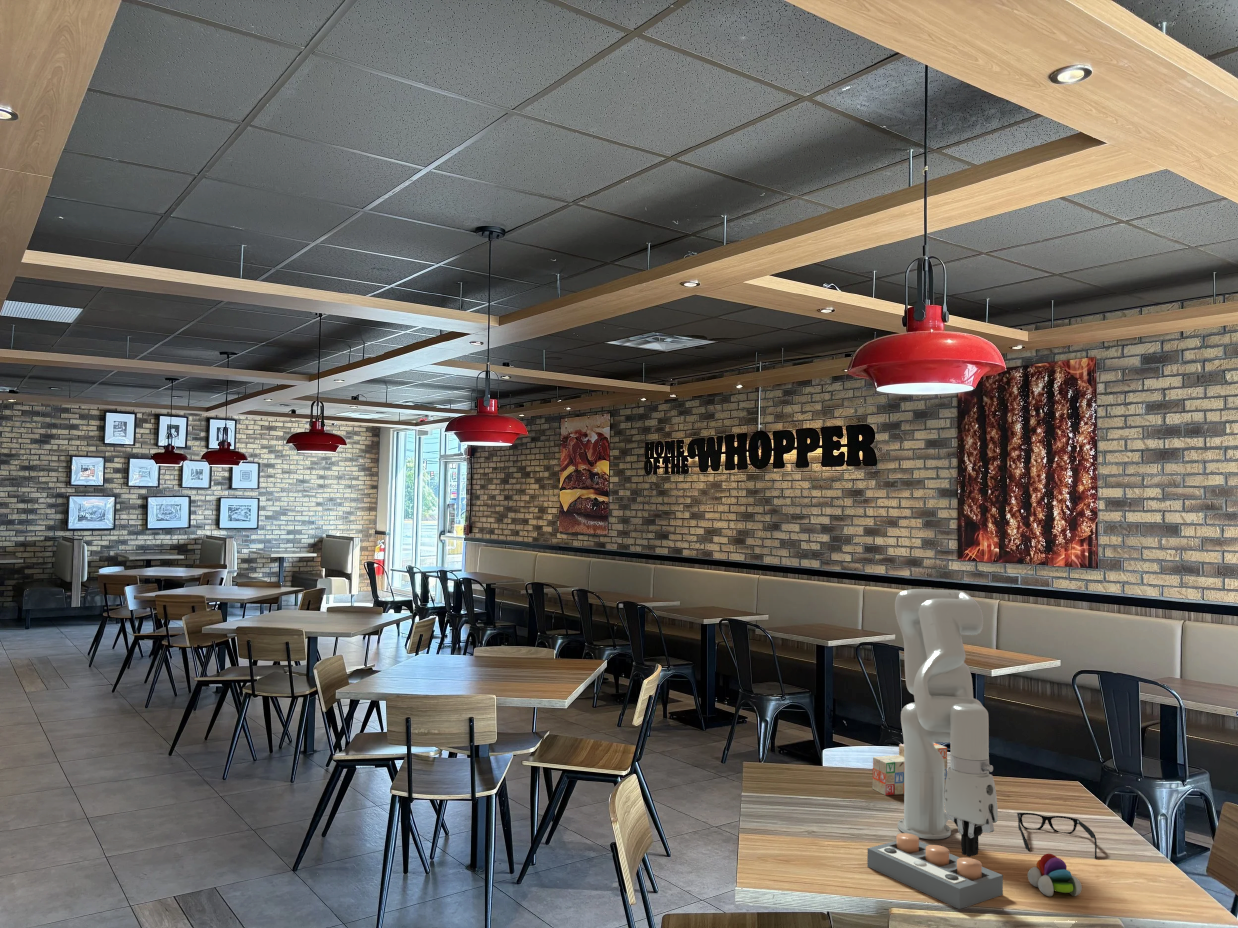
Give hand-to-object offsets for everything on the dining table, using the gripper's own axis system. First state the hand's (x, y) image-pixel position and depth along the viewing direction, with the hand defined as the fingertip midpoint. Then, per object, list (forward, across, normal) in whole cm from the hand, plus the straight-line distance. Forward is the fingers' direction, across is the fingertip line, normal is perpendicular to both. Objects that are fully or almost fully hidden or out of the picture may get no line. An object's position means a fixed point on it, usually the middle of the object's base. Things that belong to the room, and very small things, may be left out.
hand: (969, 854), depth 182 cm
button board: (+8, +8, +1) cm, 12 cm away
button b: (+5, +8, 0) cm, 10 cm away
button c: (+5, 0, 0) cm, 5 cm away
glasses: (+8, +9, -45) cm, 46 cm away
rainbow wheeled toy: (+8, -8, -18) cm, 21 cm away
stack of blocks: (+7, +54, -46) cm, 72 cm away
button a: (+5, +16, 0) cm, 17 cm away
